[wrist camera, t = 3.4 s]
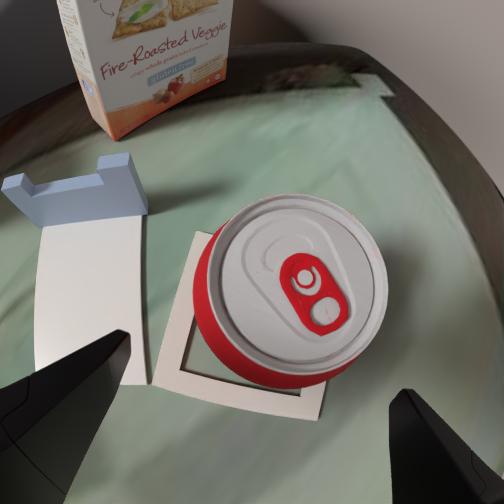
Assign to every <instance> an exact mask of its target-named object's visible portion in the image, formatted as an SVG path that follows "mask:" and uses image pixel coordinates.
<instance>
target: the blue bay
mask: <svg viewBox="0 0 504 504" xmlns="http://www.w3.org/2000/svg"><path fill="white" fill-rule="evenodd" d="M97 172H98V173H97V174H90V175H84V176H79V177H73V178H68V179H62V180H57V181H52V182H47V183H43V184H38V185H34V184H33V183H32V182H31V181H30V179H29V178H28V177H27V176H26V174H25V173H21V174H18V175H14V176H10V177H7V178H5V179H4V182H3V185H2V188H1V191H2V192H3V193H4V194H5V195H6V196H7V197H8V198H9V199H10V200H11V201H12V202H13V203H14V204H15V205H16V206H17V207H18V208H19V209H20V210H21V211H22V212H23V213H24V214H25V215H26V216H27V217H28V218H29V219H30V220H31V221H32V222H33V223H34V224H35V225H36V226H38V227H39V228H40V227H43V231H42V237H41V244H40V251H39V259H38V267H37V278H36V290H35V310H34V348H35V368H36V371H38V370H40V369H42V368H44V367H46V366H48V365H50V364H52V363H53V362H55V361H57V360H59V359H61V358H63V357H65V356H67V355H69V354H71V353H72V352H74V351H76V350H78V349H80V348H82V347H84V346H86V345H88V344H90V343H91V342H93V341H95V340H97V339H99V338H101V337H103V336H105V335H107V334H109V333H110V332H112V331H114V330H116V329H121V330H124V331H126V332H129V333H130V335H131V356H130V359H129V362H128V364H127V367H126V369H125V372H124V374H123V377H122V380H121V382H120V385H148V383H147V373H146V363H145V352H144V338H143V321H142V295H141V241H142V215H148V201H147V198H146V195H145V193H144V190H143V187H142V185H141V182H140V179H139V177H138V174H137V171H136V168H135V166H134V163H133V160H132V157H131V154H130V152H127V153H120V154H113V155H107V156H101V157H99V160H98V165H97Z"/></svg>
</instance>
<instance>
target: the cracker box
mask: <svg viewBox="0 0 504 504" xmlns="http://www.w3.org/2000/svg"><path fill="white" fill-rule="evenodd" d="M57 4H58V8H59V12H60V17H61V20H62V24H63V28H64V32H65V36H66V40H67V43H68V47H69V50H70V53H71V57H72V60H73V63H74V67H75V70H76V73H77V76H78V79H79V82H80V85H81V88H82V91H83V93H84V96H85V99H86V102H87V105H88V107H89V110H90V113H91V115H92V117H93V119H94V120H95V121H96V122H97V123H98V124H99V125H100V126H101V127H102V128H103V129H104V130H105V131H106V132H107V134H108V135H109V136H110V137H111V138H112V139H113V140H114V141H117V140H119V139H120V138H121V137H123V136H124V135H126V134H127V133H129V132H130V131H132V130H134V129H135V128H137V127H138V126H140V125H141V124H143V123H145V122H146V121H148V120H149V119H151V118H153V117H154V116H156V115H158V114H159V113H161V112H163V111H165V110H166V109H168V108H170V107H172V106H174V105H175V104H177V103H179V102H181V101H183V100H185V99H186V98H188V97H190V96H192V95H194V94H196V93H198V92H200V91H202V90H204V89H206V88H208V87H210V86H212V85H214V84H216V83H219V82H221V81H223V80H225V77H226V66H227V56H228V45H229V35H230V25H231V16H232V7H233V0H57Z"/></svg>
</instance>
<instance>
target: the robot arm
mask: <svg viewBox="0 0 504 504" xmlns="http://www.w3.org/2000/svg"><path fill="white" fill-rule="evenodd" d="M130 356H131V335H130V333H129V332H126V331H124V330H121V329H116V330H114V331H112V332H110V333H109V334H107V335H105V336H103V337H101V338H99V339H97V340H95V341H93V342H91V343H90V344H88V345H86V346H84V347H82V348H80V349H78V350H76V351H74V352H72V353H71V354H69V355H67V356H65V357H63V358H61V359H59V360H57V361H55V362H53V363H52V364H50V365H48V366H46V367H44V368H42V369H40V370H38V371H36V372H34V373H32V374H31V375H30V376H26V377H25V378H23V379H21V380H19V381H17V382H15V383H13V384H10V385H8V386H6V387H4V388H1V389H0V504H63V503H64V500H65V498H66V495H67V493H68V491H69V489H70V487H71V484H72V482H73V480H74V478H75V476H76V474H77V471H78V469H79V467H80V465H81V463H82V461H83V459H84V457H85V455H86V453H87V451H88V449H89V447H90V445H91V442H92V440H93V438H94V436H95V434H96V433H97V431H98V429H99V427H100V425H101V423H102V421H103V419H104V417H105V415H106V413H107V411H108V409H109V407H110V405H111V403H112V402H113V399H114V397H115V395H116V393H117V390H118V387H119V385H120V382H121V380H122V377H123V374H124V372H125V369H126V367H127V364H128V362H129V359H130ZM389 451H390V463H391V478H392V504H504V480H503V479H502V478H501V477H500V476H499V475H497V474H496V473H495V472H494V471H493V470H492V469H491V468H490V467H489V466H487V465H486V464H485V463H484V462H483V461H482V460H481V459H480V458H479V457H478V456H477V455H476V454H475V453H474V451H473V450H471V448H470V447H469V446H468V445H467V444H466V443H465V442H464V441H463V440H462V439H461V438H460V437H459V436H458V435H457V434H456V433H455V432H454V431H453V430H452V429H451V427H450V426H449V425H448V424H447V423H446V422H445V421H444V420H443V419H442V418H441V417H440V416H439V415H438V414H437V413H436V412H435V411H434V410H433V409H432V408H431V407H430V406H429V405H428V404H427V403H426V402H425V401H424V400H423V399H422V398H421V397H420V396H419V395H418V394H417V393H416V392H415V391H414V390H413V389H402V390H401V391H400V392H399V393H398V394H397V396H396V397H395V398H394V399H393V400H392V402H391V403H390V405H389Z"/></svg>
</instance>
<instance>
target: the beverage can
mask: <svg viewBox="0 0 504 504" xmlns="http://www.w3.org/2000/svg"><path fill="white" fill-rule="evenodd" d="M388 290H389V289H388V278H387V271H386V267H385V263H384V260H383V257H382V255H381V252H380V250H379V248H378V246H377V244H376V242H375V240H374V239H373V237H372V236H371V234H370V233H369V232H368V231H367V229H366V228H365V227H364V226H363V225H362V224H361V223H360V222H359V221H358V220H357V219H356V218H355V217H354V216H353V215H352V214H350V213H349V212H348V211H346V210H345V209H343V208H341V207H340V206H338V205H336V204H334V203H333V202H330V201H328V200H325V199H322V198H319V197H316V196H312V195H306V194H296V193H287V194H279V195H273V196H269V197H265V198H262V199H260V200H258V201H256V202H254V203H252V204H250V205H248V206H246V207H245V208H243V209H242V210H241V211H239V212H238V213H237V214H236V215H235V216H233V217H232V219H230V220H229V221H228V222H227V223H225V224H224V225H223V226H222V227H221V228H220V229H219V230H218V231H217V232H216V233H215V234H214V235H213V237H212V238H211V239H210V240H209V242H208V243H207V245H206V247H205V249H204V250H203V252H202V254H201V256H200V259H199V261H198V264H197V267H196V270H195V274H194V280H193V290H192V294H193V307H194V313H195V317H196V321H197V324H198V327H199V329H200V332H201V334H202V336H203V338H204V340H205V342H206V343H207V345H208V346H209V348H210V349H211V350H212V352H213V353H214V354H215V355H216V357H217V358H218V359H219V360H220V361H221V362H222V363H223V364H224V365H226V366H227V367H228V368H229V369H230V370H232V371H233V372H235V373H236V374H237V375H239V376H241V377H243V378H245V379H246V380H249V381H251V382H253V383H256V384H259V385H262V386H266V387H270V388H276V389H299V388H306V387H310V386H314V385H317V384H320V383H322V382H325V381H327V380H329V379H331V378H333V377H335V376H336V375H338V374H339V373H341V372H342V371H344V370H345V369H346V368H347V367H349V366H350V365H351V364H352V363H353V362H354V361H355V360H356V359H357V358H358V356H359V355H360V354H361V353H362V351H363V350H364V349H365V348H366V347H367V346H368V345H369V344H370V342H371V341H372V340H373V338H374V337H375V335H376V333H377V332H378V330H379V328H380V326H381V323H382V321H383V318H384V315H385V311H386V307H387V301H388Z"/></svg>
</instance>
